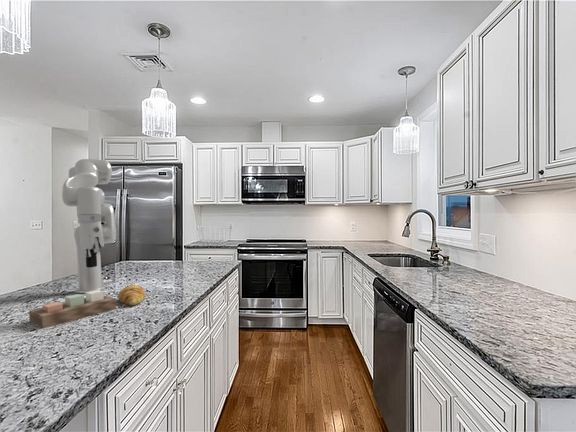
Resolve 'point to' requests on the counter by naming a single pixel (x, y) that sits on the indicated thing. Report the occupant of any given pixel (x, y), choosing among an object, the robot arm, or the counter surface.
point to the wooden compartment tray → (71, 312)
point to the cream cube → (94, 296)
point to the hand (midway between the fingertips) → (91, 266)
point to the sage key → (74, 300)
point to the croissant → (131, 295)
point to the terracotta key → (52, 307)
